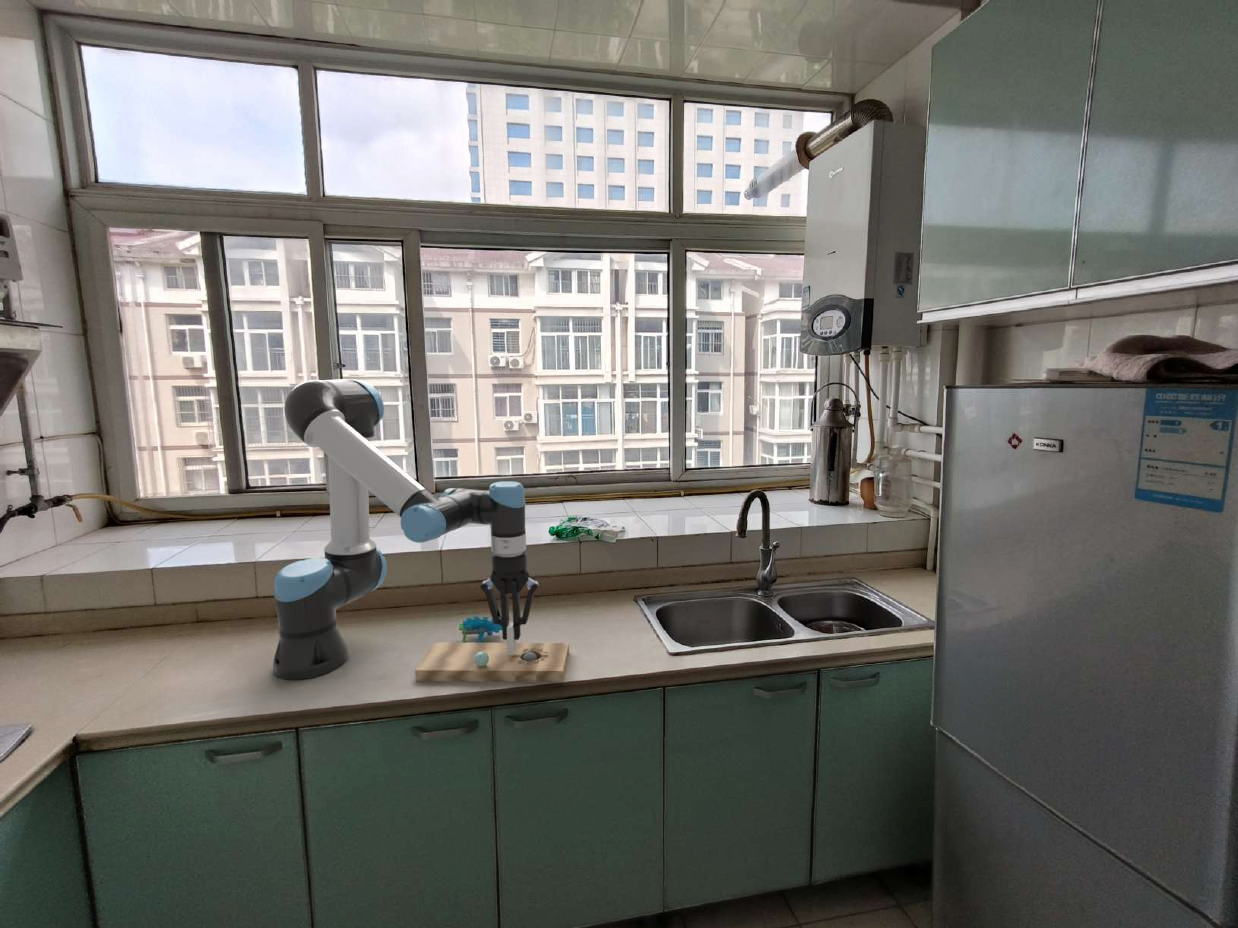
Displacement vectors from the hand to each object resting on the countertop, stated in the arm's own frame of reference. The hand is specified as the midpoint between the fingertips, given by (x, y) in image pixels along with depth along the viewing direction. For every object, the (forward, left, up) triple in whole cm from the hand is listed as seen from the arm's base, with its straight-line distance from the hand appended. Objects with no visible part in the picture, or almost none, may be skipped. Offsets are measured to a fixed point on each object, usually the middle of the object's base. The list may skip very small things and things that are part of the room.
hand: (512, 652), depth 130 cm
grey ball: (+4, 0, -2) cm, 4 cm away
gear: (-11, +13, -4) cm, 17 cm away
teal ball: (-6, -5, +1) cm, 7 cm away
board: (-4, 0, -3) cm, 5 cm away
